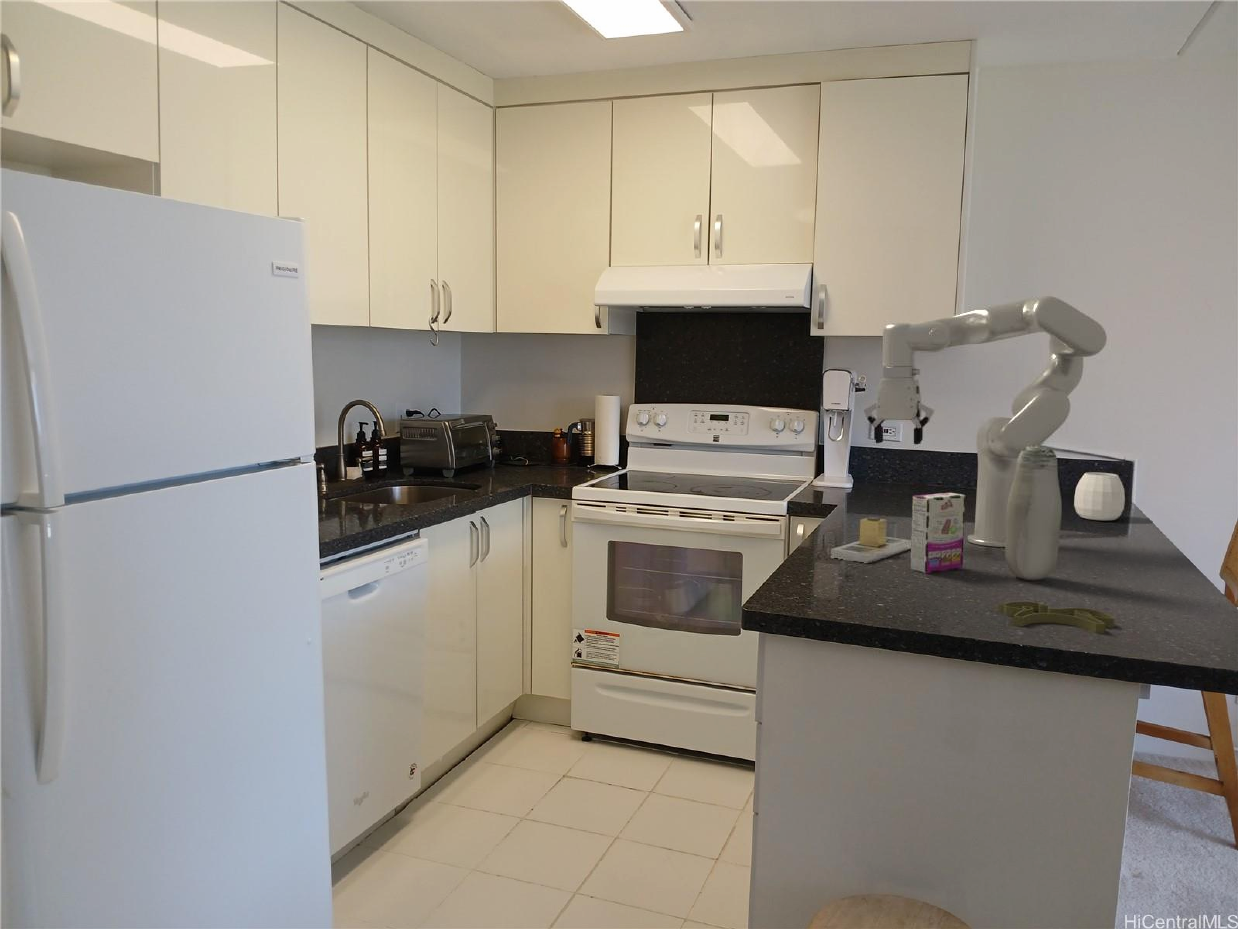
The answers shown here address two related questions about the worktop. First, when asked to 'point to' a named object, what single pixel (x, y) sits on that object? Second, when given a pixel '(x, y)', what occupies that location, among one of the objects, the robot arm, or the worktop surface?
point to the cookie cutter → (1056, 615)
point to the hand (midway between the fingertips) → (898, 443)
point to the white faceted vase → (1099, 496)
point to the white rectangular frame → (870, 550)
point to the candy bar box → (937, 532)
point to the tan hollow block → (873, 532)
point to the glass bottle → (1034, 515)
